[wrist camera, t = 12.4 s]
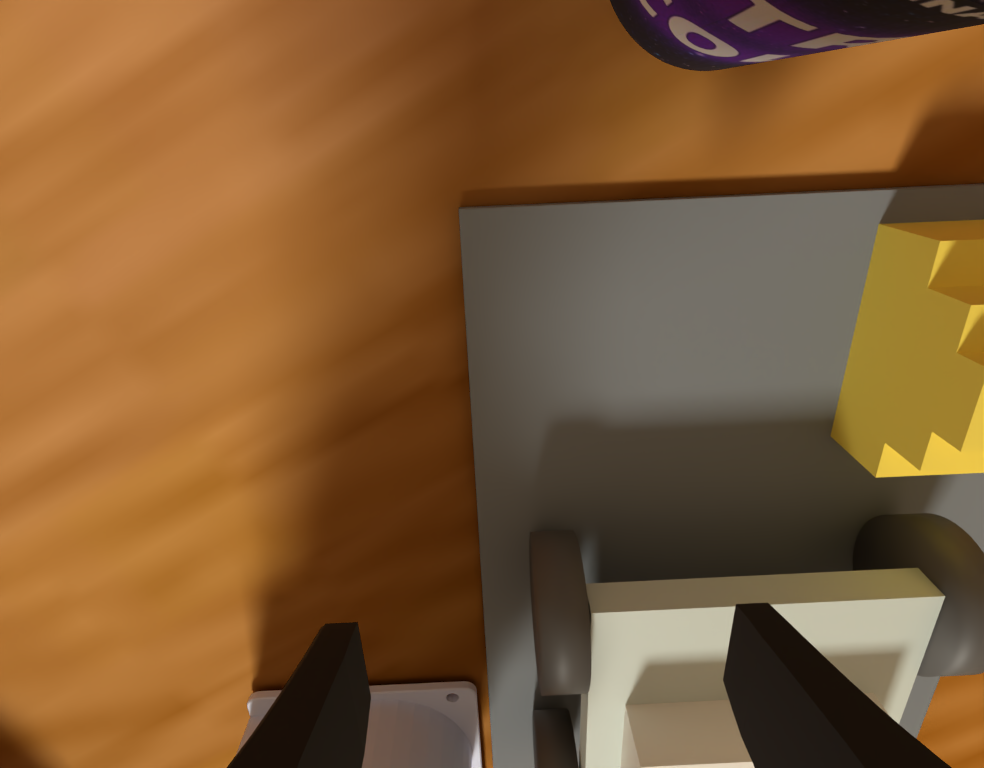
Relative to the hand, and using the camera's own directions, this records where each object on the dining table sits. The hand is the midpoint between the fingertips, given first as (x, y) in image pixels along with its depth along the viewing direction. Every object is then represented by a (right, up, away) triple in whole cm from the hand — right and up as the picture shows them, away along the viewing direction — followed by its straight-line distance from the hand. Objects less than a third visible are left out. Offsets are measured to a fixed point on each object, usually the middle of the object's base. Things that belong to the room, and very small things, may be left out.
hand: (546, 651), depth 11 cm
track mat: (+8, -1, +11) cm, 14 cm away
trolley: (+7, -5, +12) cm, 15 cm away
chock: (+13, +7, +7) cm, 16 cm away
